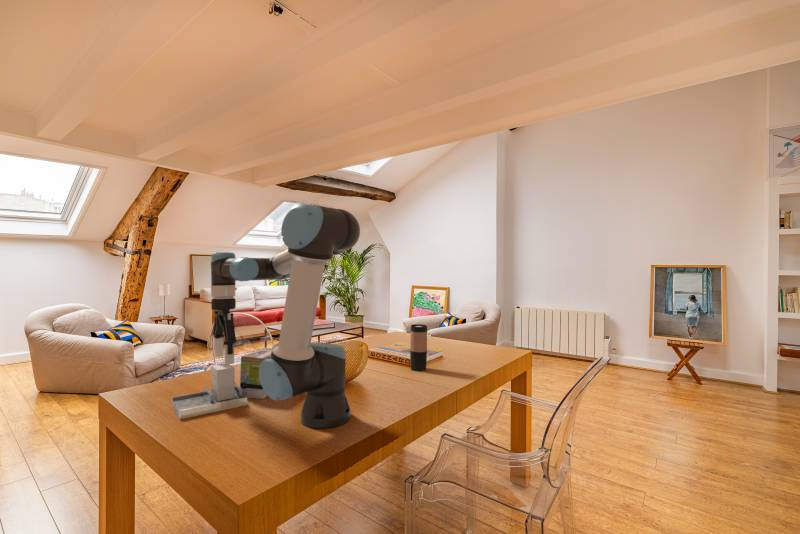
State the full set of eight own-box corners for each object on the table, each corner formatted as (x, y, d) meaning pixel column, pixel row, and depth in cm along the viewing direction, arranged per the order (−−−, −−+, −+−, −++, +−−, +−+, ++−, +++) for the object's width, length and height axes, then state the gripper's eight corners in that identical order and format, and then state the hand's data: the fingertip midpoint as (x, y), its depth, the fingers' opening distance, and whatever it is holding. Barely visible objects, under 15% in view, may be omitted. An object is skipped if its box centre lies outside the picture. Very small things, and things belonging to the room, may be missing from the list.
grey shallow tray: (247, 405, 130) (247, 390, 130) (179, 419, 117) (179, 403, 117) (235, 393, 141) (235, 380, 141) (172, 405, 128) (172, 390, 128)
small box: (234, 398, 130) (234, 367, 130) (216, 402, 127) (217, 370, 127) (228, 392, 136) (228, 362, 136) (211, 395, 133) (211, 364, 133)
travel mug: (407, 367, 179) (408, 324, 179) (423, 366, 181) (423, 324, 181) (413, 372, 172) (413, 327, 171) (429, 370, 174) (429, 326, 174)
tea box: (264, 399, 135) (265, 357, 135) (239, 397, 137) (239, 356, 137) (285, 386, 150) (286, 348, 150) (262, 384, 152) (262, 347, 152)
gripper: (246, 299, 124) (246, 365, 123) (225, 295, 143) (225, 352, 143) (221, 300, 119) (221, 369, 119) (203, 296, 138) (203, 355, 138)
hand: (223, 360), depth 131 cm, fingers open, 13 cm apart
